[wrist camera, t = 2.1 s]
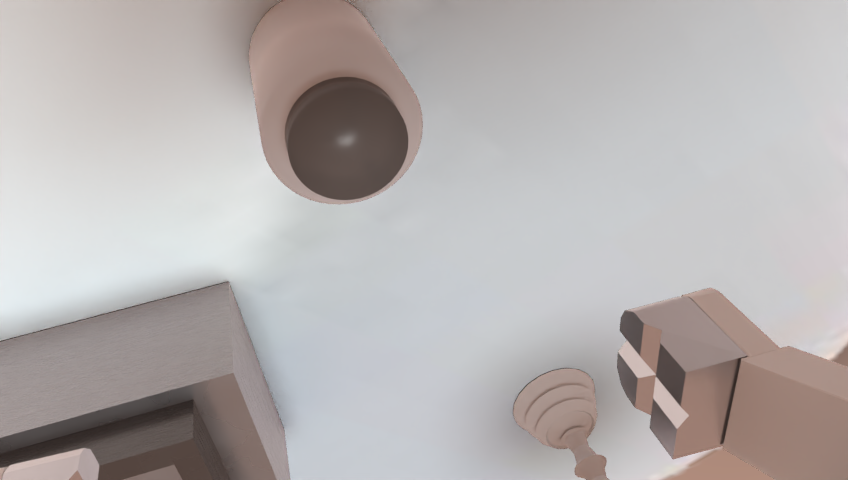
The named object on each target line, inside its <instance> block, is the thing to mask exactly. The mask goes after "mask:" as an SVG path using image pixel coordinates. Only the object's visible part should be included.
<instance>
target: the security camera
mask: <svg viewBox="0 0 848 480" xmlns="http://www.w3.org/2000/svg"><path fill="white" fill-rule="evenodd" d="M249 67H250V73H251V79H252V85H253V92H254V98H255V104H256V111H257V117H258V123H259V129H260V136H261V142H262V147H263V151H264V154H265V157H266V160H267V162H268V164H269V166H270V168H271V169H272V171H273V172H274V174H275V175H276V176H277V178H278V179H279V180H280V181H281V182H282V183H283V184H284V185H285V186H287V187H288V188H289V189H291V190H292V191H294V192H295V193H297V194H299V195H300V196H303V197H305V198H307V199H310V200H313V201H317V202H321V203H327V204H349V203H354V202H359V201H363V200H366V199H369V198H371V197H373V196H376V195H378V194H380V193H381V192H383V191H385V190H386V189H388V188H389V187H390V186H392V185H393V184H394V183H396V182H397V181H398V180H399V179H400V178H401V177H402V176H403V174H404V173H405V172H406V171H407V170H408V168H409V167H410V165H411V164H412V162H413V160H414V158H415V156H416V154H417V152H418V149H419V146H420V143H421V137H422V128H423V121H422V112H421V108H420V104H419V102H418V99H417V96H416V94H415V93H414V91H413V89H412V87H411V86H410V84H409V83H408V81H407V80H406V78H405V77H404V75H403V74H402V72H401V71H400V69H399V67H398V66H397V64H396V63H395V61H394V60H393V58H392V57H391V55H390V54H389V52H388V51H387V49H386V48H385V46H384V45H383V43H382V42H381V40H380V39H379V37H378V36H377V34H376V33H375V31H374V30H373V28H372V27H371V25H370V24H369V22H368V21H367V19H366V18H365V17H364V15H363V14H362V13H361V12H360V11H359V10H358V9H356V8H355V7H354V6H353V5H351V4H350V3H348V2H346V1H345V0H283V1H281V2H280V3H278V4H276V5H275V6H274V7H273V8H271V9H270V10H269V11H268V12H267V13H266V14H265V15H264V16H263V17H262V19H261V20H260V22H259V23H258V25H257V27H256V29H255V31H254V33H253V36H252V38H251V42H250V47H249Z"/></svg>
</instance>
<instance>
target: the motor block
mask: <svg viewBox="0 0 848 480" xmlns="http://www.w3.org/2000/svg"><path fill="white" fill-rule="evenodd" d="M82 448H87V449H91V451H92V453H93V454H94V456H95V458H96V460H97V462H98V463H99V473H98V480H290V472H289V464H288V456H287V448H286V440H285V432H284V428H283V425H282V423H281V420H280V417H279V415H278V412H277V409H276V407H275V404H274V401H273V399H272V396H271V393H270V391H269V388H268V385H267V383H266V380H265V377H264V374H263V372H262V369H261V366H260V364H259V361H258V358H257V356H256V353H255V350H254V348H253V345H252V342H251V340H250V337H249V334H248V332H247V329H246V326H245V324H244V321H243V318H242V316H241V313H240V310H239V308H238V305H237V302H236V300H235V297H234V294H233V292H232V289H231V286H230V284H229V282H226V283H222V284H218V285H214V286H210V287H207V288H203V289H199V290H195V291H191V292H188V293H184V294H180V295H176V296H172V297H168V298H165V299H161V300H157V301H153V302H149V303H146V304H142V305H138V306H134V307H130V308H127V309H123V310H119V311H115V312H111V313H107V314H104V315H100V316H96V317H92V318H88V319H85V320H81V321H77V322H73V323H69V324H66V325H62V326H58V327H54V328H50V329H47V330H43V331H39V332H35V333H31V334H27V335H24V336H20V337H16V338H12V339H8V340H5V341H1V342H0V468H4V467H8V466H10V465H13V464H17V463H21V462H26V461H30V460H34V459H39V458H43V457H47V456H52V455H56V454H60V453H65V452H69V451H73V450H78V449H82Z"/></svg>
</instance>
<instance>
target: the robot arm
mask: <svg viewBox="0 0 848 480" xmlns="http://www.w3.org/2000/svg"><path fill="white" fill-rule="evenodd" d="M620 332H621V333H622V334H623V335H624V337H625V338H626V339H627V340H626V342H625V343H624V344H623V346H622V347H621V348H620V350H619V351H618V363H617V369H618V373H619V377H620V381H621V385H622V387H623V389H624V391H625V393H626V395H627V397H628V398H629V400H630V401H631V403H632V404H633V405H634V407H635V408H637V409H639V410H641V411H643V412H645V413H648V414H650V415H651V421H650V429H651V430H652V432H653V433H654V434H655V436H656V437H657V439H658V440H659V441H660V443H661V444H662V445H663V447H664V448H665V449H666V451H667V452H668V453H669V455H670V456H671V458H672V459H676V458H680V457H683V456H687V455H691V454H695V453H698V452H702V451H706V450H710V449H713V448H717V447H721V446H723V449H724V450H726V451H727V452H729V453H731V454H732V455H734V456H736V457H738V458H739V459H741V460H743V461H744V462H746V463H748V464H750V465H751V466H753V467H755V468H756V469H758V470H760V471H762V472H763V473H765V474H767V475H768V476H770V477H772V478H773V479H775V480H848V367H847V366H844V365H841V364H838V363H835V362H833V361H830V360H827V359H824V358H821V357H818V356H816V355H813V354H810V353H807V352H804V351H801V350H799V349H796V348H793V347H790V346H787V347H783V348H779V347H778V346H777V345H776V344H775V343H774V342H773V341H772V340H771V339H770V338H769V337H768V336H767V335H765V334H764V333H763V332H762V331H761V330H760V329H759V328H758V327H757V326H756V325H755V324H754V323H753V322H751V321H750V320H749V319H748V318H747V317H746V316H745V315H744V314H743V313H742V312H741V311H740V310H739V309H738V308H736V307H735V306H734V305H733V304H732V303H731V302H730V301H729V300H728V299H727V298H726V297H725V296H724V295H722V294H721V293H720V292H719V291H718V290H715V289H713V288H707V289H703V290H700V291H696V292H692V293H688V294H685V295H682V296H681V297H675V298H671V299H667V300H663V301H659V302H656V303H652V304H648V305H644V306H640V307H637V308H633V309H629V310H625V311H624V313H623V315H622V317H621V322H620ZM98 473H99V463H98V462H97V460H96V458H95V456H94V454H93V453H92V451H91V449H87V448H82V449H78V450H73V451H69V452H65V453H60V454H56V455H52V456H47V457H43V458H39V459H34V460H30V461H26V462H21V463H17V464H13V465H10V466H8V467H4V468H0V480H98Z"/></svg>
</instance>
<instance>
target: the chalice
mask: <svg viewBox="0 0 848 480" xmlns="http://www.w3.org/2000/svg"><path fill="white" fill-rule="evenodd" d="M594 393H595V387H594V383H593V380H592V379H591V378H590V376H589V375H588V374H587V373H585V372H582V371H580V370H578V369H567V368H565V369H560V370H554V371H551V372H548V373H546V374H544V375H541V376H539V377H538V378H536V379H535V380H533V381H532V382H531V383H529V384H528V385H527V386H526V387H525V388H524V389H523V390H522V392H521V393H520V394H519V396H518V398H517V400H516V402H515V404H514V410H513V415H514V418H515V421H516V423H517V424H518V425H519V426H521V427H522V428H523V429H525V430H527V431H528V432H529V433H530V434H531V435H532V436H533V437H535V438H537V439H538V440H539V441H540V442H541V443H542V444H544V445H547V446H550V447H553V448H557V449H565V448H569V449H570V450H571V451H572V452H573V453H574V455H575V459H576V463H577V465H576V467H575V475H577V476H578V477H581V478H585V479H586V480H609V479H608V478H607V477H606V473H605V469H604V468H605V466H606V462H607V461H606V458H605V457H604V456H602V455H598V454H596V453H595V452H594V451H593V450H592V449H591V448H590V447H589V445H588V442H587V437H588V436H589V435H590V434H591V432H592V430H593V429H594V426H595V423H596V419H597V410H596V399H595V395H594Z"/></svg>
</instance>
